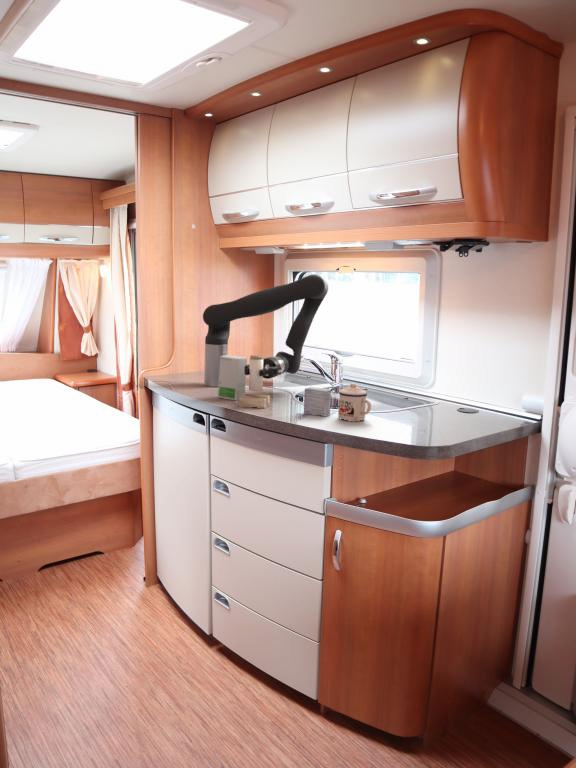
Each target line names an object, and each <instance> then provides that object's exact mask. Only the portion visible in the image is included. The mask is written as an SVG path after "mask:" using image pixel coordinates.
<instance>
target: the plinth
mask: <svg viewBox="0 0 576 768" xmlns="http://www.w3.org/2000/svg"><path fill="white" fill-rule="evenodd" d="M269 403H270V404H271V395H268V394H256V393H255V394H253V393H245V395H243V396H241V397H240V398H239V400H238V407H241V408H251V407H257V408H256V409H266V408H267V407H268V406H269V405H270V404H269ZM268 404H269V405H268ZM267 405H268V406H267ZM266 406H267V407H266ZM265 407H266V408H265Z"/></svg>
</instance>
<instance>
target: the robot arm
mask: <svg viewBox="0 0 576 768" xmlns="http://www.w3.org/2000/svg"><path fill="white" fill-rule="evenodd" d="M328 291H329V284H328V282H327V280H326V279H325V278H324V277H323V276H321V275H319V274H315V273H313V274H309V275H307V276H304V277H301V278H300V279H297V280H295V281H291V282H289V283H286V284H282V285H276V286H274V287H273V286H272V287H269V288H265V289H261V290H259V291H255V292H253V293H251V294H247V295H245V296H242V297H240V298H237V299H234V300H232V301H228V302H223V303H217V304H211V305H208V306H207V308H206V307H205V309H204V311H203V313H202V319H203V322H204V323H205V325H207V326H208V329H207V330H208V331H207V334H206V335H205V338H204V378H203V379H204V381H203V384H204V386H206V387H211V388H213V387H214V388H219V371H220V356H226V355H228V353H229V352H228V350H229V349H228V347H229V346H228V344H229V337H230V335H231V334H230V330H231V322H233V321H235V320H239V319H244V318H245V319H246V318H252V317H257V316H258V317H259V316H262V315H267V314H269V313H273V312H275V311H278V310H280V309H282V308H284V307H285V306H287V305H289V304H291V303H294V302H296V301H300V300H303V302H302V303H303V304H302V305H301V308H300V310H299V312H298V314H297V315H296V317H295V319H294V321H293V322H292V324H291V327H290V329H289V332H288V334H287V337H286V338H285V339H286V340H285V345H286V347H287V348H290V349H291V350H292V353H293V354H290V353H288V352H285V351H278V352H277V353H276V355H275V356H270V357H266V358H263V369H262V370H260V371H259V376H263V379H266V380H267V379H273V378H275V377H278V376H280V375H283V374H285V373H289V374H291V375H294V374H296V373H297V372H298V371H299V370H300V367H301V360H302V351H303V346H304V344H305V341H306V339H307V336H308V334H309V331H310V328H311V326H312V323H313V321H314V318H315V316H316V314H317V312H318V311H319V308H320V306H321V304H322V302H323V301H324V300H325V298H326V295H328ZM249 364H250V363H247V365H246V366H245V367H244V374H245V375H246V376H249Z"/></svg>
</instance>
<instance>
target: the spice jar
mask: <svg viewBox="0 0 576 768" xmlns="http://www.w3.org/2000/svg"><path fill="white" fill-rule="evenodd" d="M263 359H264V356H263V355H259V354H258V355H257V354H256V355H250V356H249V363H248V364H249V375H248V391H250V392H263V390H264V389H263V387H264V384H263V383H264V378H263V376H259V371H260V370H262V369H263Z"/></svg>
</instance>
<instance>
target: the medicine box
mask: <svg viewBox="0 0 576 768" xmlns="http://www.w3.org/2000/svg"><path fill="white" fill-rule="evenodd" d="M331 394H332V390H331V389H330V388H322V387H314V386H310V387H306V388H304V398H303V399H304V400H303V401H304V402H303V414H304V413H306V415H311V414H315V415H314V416H317V415H323V416H322V417H326V416H325V415H327V416H329V415H328V414H330V415H331V400H332V399H331V397H332V395H331Z"/></svg>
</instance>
